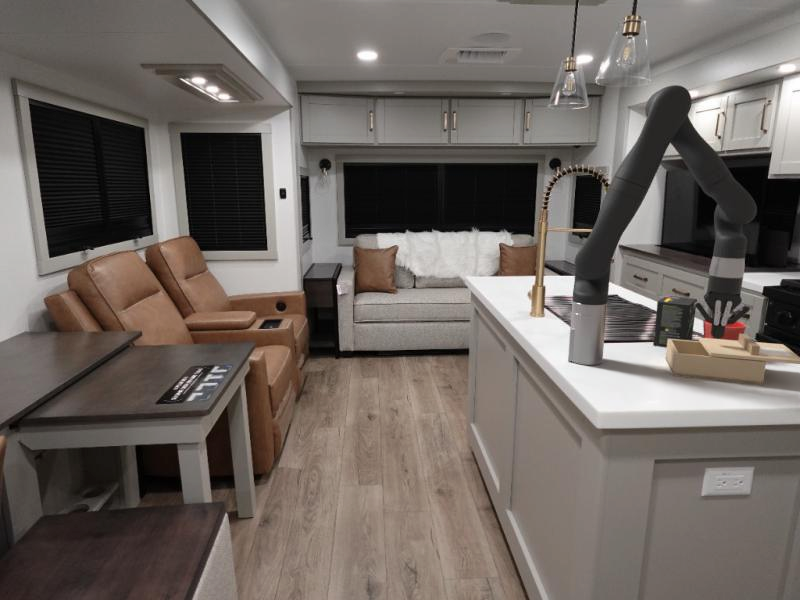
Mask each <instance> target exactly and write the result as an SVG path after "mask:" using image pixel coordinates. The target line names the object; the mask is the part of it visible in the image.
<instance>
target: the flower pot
mask: <svg viewBox="0 0 800 600" xmlns="http://www.w3.org/2000/svg"><path fill="white" fill-rule="evenodd" d="M719 320H720V318H719ZM702 324H703V327H702V328H703V338H711V339H714V338H713V336H712V335H711V327H712V323H710V322H707V321H706V320H705V319H703V321H702ZM746 328H747V325H746V324H745V323H743V322H741V321H739V320H738V321H736V322H735V323H734V324H728V325H726V326H725V332H724V336H723V337H721V339H723V340H735V341H738V340H739V334H745V331H746Z"/></svg>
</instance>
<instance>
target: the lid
mask: <svg viewBox="0 0 800 600" xmlns="http://www.w3.org/2000/svg"><path fill="white" fill-rule="evenodd" d="M698 341H700V343H701V344H702V345H703V347H704V348H705V349H706V351H707V352H708V353H709V355H710V356H717V357H728V358H738V359H749V360H760V361H765V362H773V363H784V364H785V363H786V364H795V365H800V356H798V355H797V353H795V352H793V351H792V350H791V349H790V348H789V347H787V345H784V344H782V343H769V342H761V341H760V342H756V341H754V340H753V338H751V337H750V336H749V335H748V334H746V333H744V334H739V340H738V341H735V340H723V339H711V338H704V337H698Z"/></svg>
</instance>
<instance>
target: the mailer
mask: <svg viewBox="0 0 800 600" xmlns="http://www.w3.org/2000/svg"><path fill="white" fill-rule="evenodd" d="M665 351H666V352H665V361H666V362H667V365H668V367H669V369H670V371H671V374H672V375H673V376H674V377H681V378H683V377H684V378H691V379H692V378H693V379H702V380H710V381H711V380H712V381H722V382H730V383H731V382H733V383H740V384H748V385H758V386H764V385H763V384H764V379H765V371H766V366H767V361H760V360H749V359H738V358H728V357H717V356H710V355H709V353H708V352H707V351H706V349H705V348H704V347H703V345H702V344H701V343H700V341H699V340H692V341H690V340H678V339H668V341H667V347H666V350H665Z"/></svg>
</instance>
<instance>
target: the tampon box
mask: <svg viewBox="0 0 800 600" xmlns="http://www.w3.org/2000/svg"><path fill="white" fill-rule="evenodd" d="M696 301H697V302H698V300H697V298H690V297H683V296H676V295H675V296H674V295H673V296H672V295H665V296H664V297H662V298H660V299H658V301H657V303H656V313H655V314H656V315H655V325H654V326H655V327H654V335H653V337H654V338H653V344H652V345H653V346H656V347H661V348H667V341H668V339H678V340H690V341H693V332H694V326H695V325H694V324H695V319H696V318H695V316H696V311H697V307H696V306H695V305H694V303H695V302H696Z"/></svg>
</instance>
